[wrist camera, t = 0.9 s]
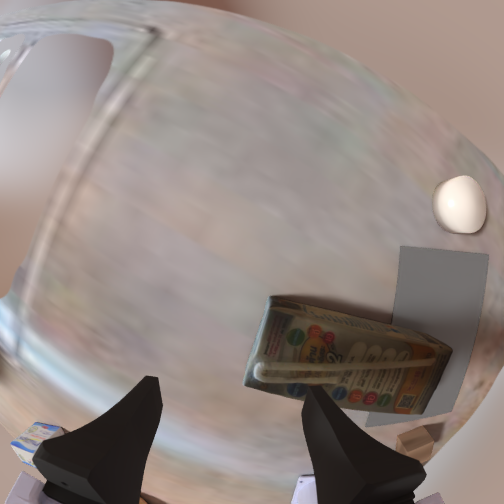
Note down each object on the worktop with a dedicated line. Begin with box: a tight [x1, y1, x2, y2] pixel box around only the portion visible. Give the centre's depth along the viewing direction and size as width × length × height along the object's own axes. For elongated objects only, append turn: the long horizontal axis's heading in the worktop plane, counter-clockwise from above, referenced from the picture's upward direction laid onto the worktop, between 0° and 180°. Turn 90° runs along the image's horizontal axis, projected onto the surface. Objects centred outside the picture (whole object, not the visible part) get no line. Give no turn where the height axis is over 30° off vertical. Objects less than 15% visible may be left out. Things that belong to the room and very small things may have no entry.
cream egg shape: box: [432, 176, 486, 233], centre depth 24 cm, size 6×6×4 cm
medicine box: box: [11, 422, 65, 468], centre depth 26 cm, size 8×4×9 cm, turn 104°
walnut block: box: [396, 425, 434, 463], centre depth 25 cm, size 4×4×4 cm
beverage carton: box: [243, 296, 453, 415], centre depth 23 cm, size 8×19×7 cm, turn 74°
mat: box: [365, 246, 489, 427], centre depth 26 cm, size 22×14×1 cm, turn 176°
